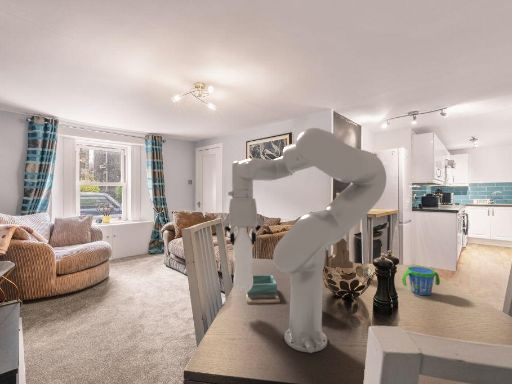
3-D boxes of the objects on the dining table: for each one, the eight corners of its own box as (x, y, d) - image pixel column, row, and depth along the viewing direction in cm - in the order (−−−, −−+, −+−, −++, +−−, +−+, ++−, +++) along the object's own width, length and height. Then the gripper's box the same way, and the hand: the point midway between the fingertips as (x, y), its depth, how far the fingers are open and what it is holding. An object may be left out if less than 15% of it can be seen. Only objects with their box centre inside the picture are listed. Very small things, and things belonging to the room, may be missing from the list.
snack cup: (408, 297, 113) (408, 273, 113) (396, 287, 124) (397, 265, 124) (447, 298, 112) (447, 274, 112) (432, 288, 123) (432, 266, 123)
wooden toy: (345, 270, 150) (345, 225, 149) (353, 274, 143) (353, 227, 143) (320, 273, 145) (321, 226, 144) (328, 277, 138) (328, 228, 138)
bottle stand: (279, 302, 107) (279, 287, 107) (247, 303, 106) (247, 288, 106) (273, 287, 123) (273, 274, 123) (244, 288, 122) (244, 275, 122)
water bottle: (231, 287, 100) (230, 220, 100) (250, 285, 103) (248, 219, 103) (236, 294, 94) (234, 222, 94) (255, 292, 96) (254, 221, 96)
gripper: (218, 195, 93) (218, 246, 93) (267, 194, 95) (268, 245, 95) (218, 195, 101) (219, 242, 101) (264, 194, 103) (265, 241, 103)
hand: (243, 243), depth 98 cm, fingers closed on water bottle, 6 cm apart
